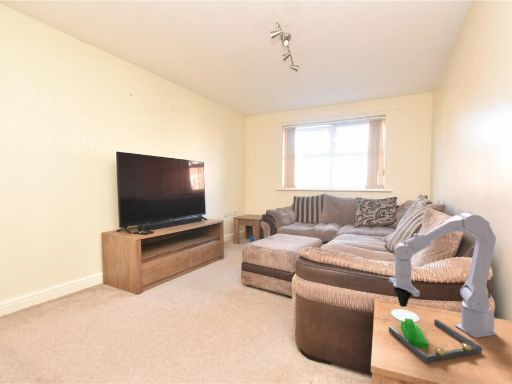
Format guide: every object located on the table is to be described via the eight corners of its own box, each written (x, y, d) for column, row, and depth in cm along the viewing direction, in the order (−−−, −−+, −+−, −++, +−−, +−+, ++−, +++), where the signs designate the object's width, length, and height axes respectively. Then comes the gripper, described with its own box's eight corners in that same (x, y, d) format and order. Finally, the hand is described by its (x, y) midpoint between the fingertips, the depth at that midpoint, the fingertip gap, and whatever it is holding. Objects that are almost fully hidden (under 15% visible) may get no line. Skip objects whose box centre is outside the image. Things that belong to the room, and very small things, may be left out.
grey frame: (436, 324, 101) (436, 316, 100) (484, 354, 83) (484, 345, 83) (388, 331, 97) (388, 323, 97) (428, 365, 80) (428, 355, 79)
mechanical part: (428, 349, 87) (428, 326, 86) (408, 346, 89) (408, 323, 88) (418, 329, 98) (418, 308, 98) (400, 326, 100) (401, 306, 100)
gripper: (382, 268, 111) (382, 298, 111) (408, 281, 96) (408, 316, 97) (396, 266, 112) (397, 296, 113) (424, 279, 98) (424, 314, 98)
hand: (403, 305), depth 105 cm, fingers closed
